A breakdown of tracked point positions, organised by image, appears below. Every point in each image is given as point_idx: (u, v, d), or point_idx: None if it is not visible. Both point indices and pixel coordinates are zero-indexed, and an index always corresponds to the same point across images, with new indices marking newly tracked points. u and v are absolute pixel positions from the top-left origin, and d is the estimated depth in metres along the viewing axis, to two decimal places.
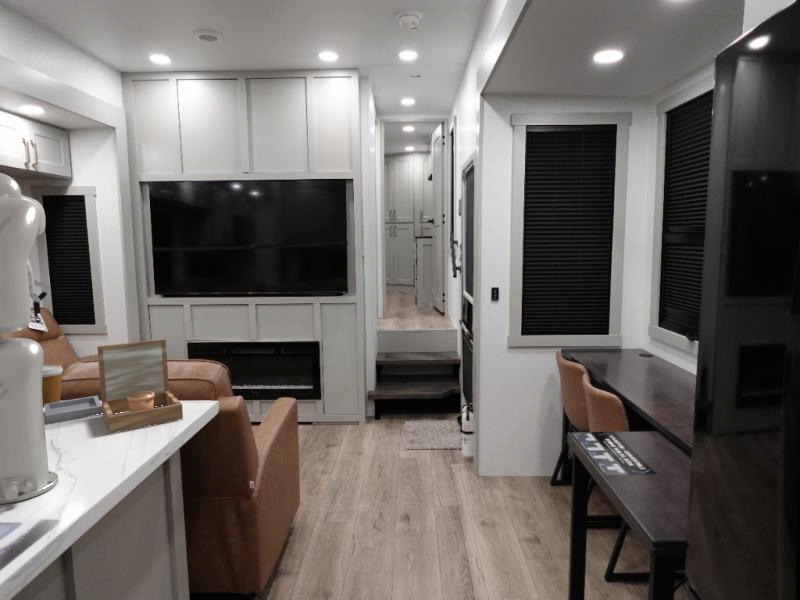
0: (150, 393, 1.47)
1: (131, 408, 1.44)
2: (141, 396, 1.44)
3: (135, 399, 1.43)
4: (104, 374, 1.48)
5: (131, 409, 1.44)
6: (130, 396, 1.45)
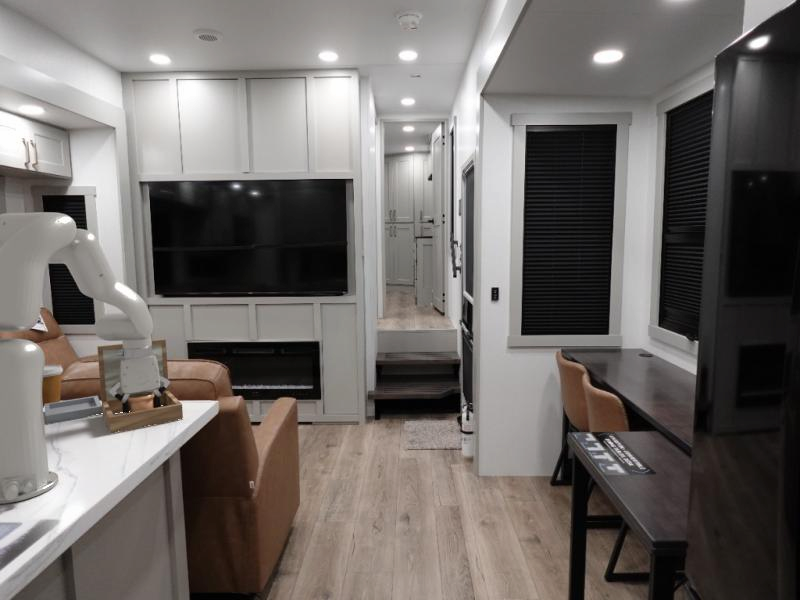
0: (150, 393, 1.47)
1: (131, 408, 1.44)
2: (141, 396, 1.44)
3: (135, 399, 1.43)
4: (104, 374, 1.48)
5: (131, 409, 1.44)
6: (130, 396, 1.45)
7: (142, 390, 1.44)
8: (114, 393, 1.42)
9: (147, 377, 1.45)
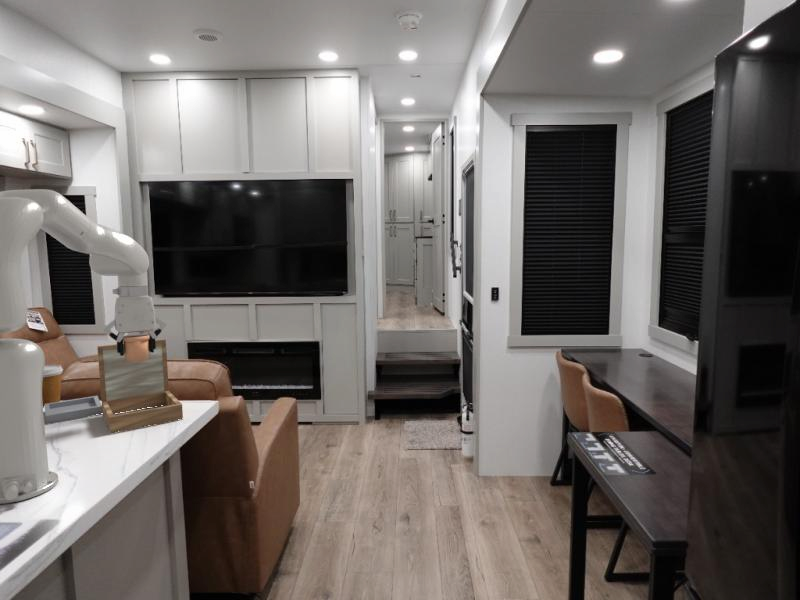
0: (145, 334, 1.45)
1: (126, 348, 1.42)
2: (136, 336, 1.42)
3: (130, 338, 1.41)
4: (104, 374, 1.48)
5: (126, 349, 1.42)
6: (125, 336, 1.42)
7: (137, 330, 1.42)
8: (108, 331, 1.40)
9: (142, 317, 1.42)
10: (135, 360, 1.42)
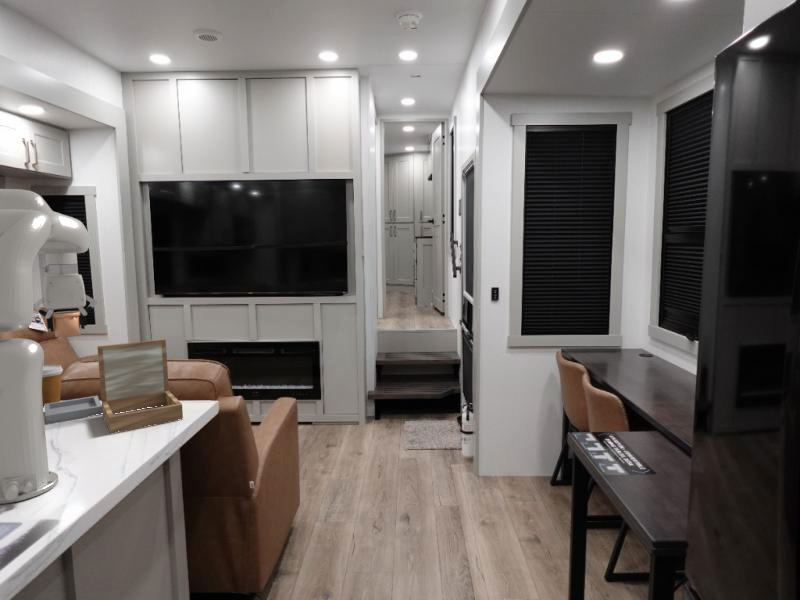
0: (76, 311, 1.50)
1: (55, 324, 1.46)
2: (66, 313, 1.47)
3: (59, 315, 1.45)
4: (104, 374, 1.48)
5: (56, 325, 1.46)
6: (55, 313, 1.47)
7: (66, 307, 1.46)
8: (37, 308, 1.44)
9: (71, 294, 1.47)
10: (65, 336, 1.46)
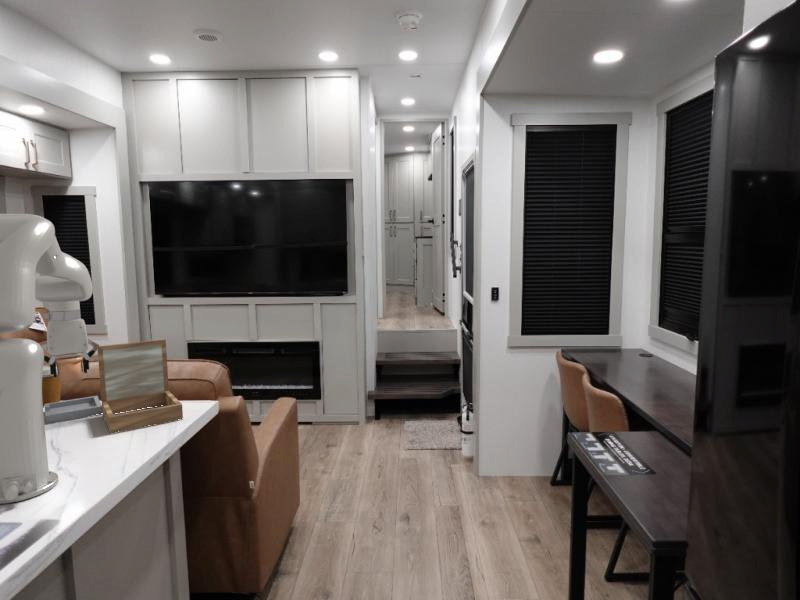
0: (79, 356, 1.51)
1: (58, 370, 1.48)
2: (68, 358, 1.48)
3: (62, 361, 1.47)
4: (104, 374, 1.48)
5: (58, 371, 1.48)
6: (58, 358, 1.49)
7: (69, 352, 1.48)
8: None
9: (74, 340, 1.49)
10: (68, 381, 1.48)
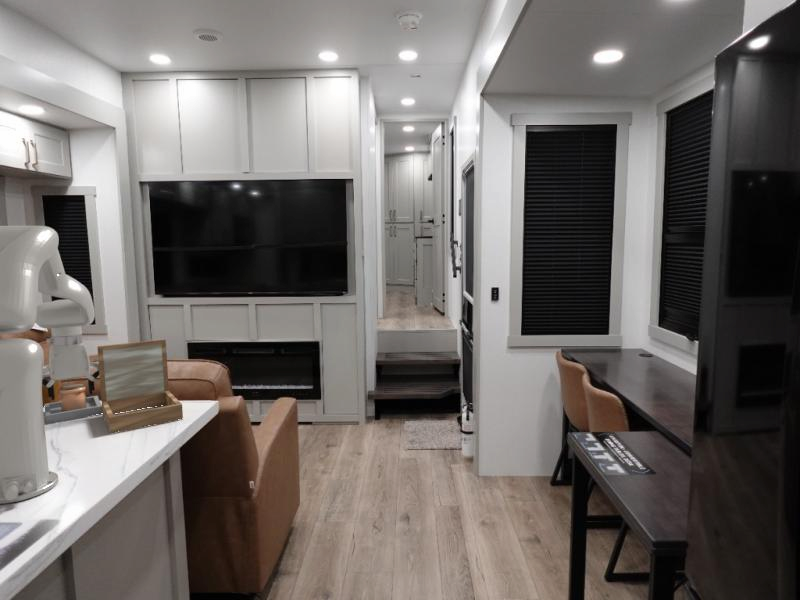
0: (82, 386, 1.52)
1: (62, 400, 1.49)
2: (72, 389, 1.49)
3: (65, 391, 1.48)
4: (104, 374, 1.48)
5: (62, 401, 1.49)
6: (61, 389, 1.50)
7: (71, 377, 1.49)
8: None
9: (76, 364, 1.49)
10: None
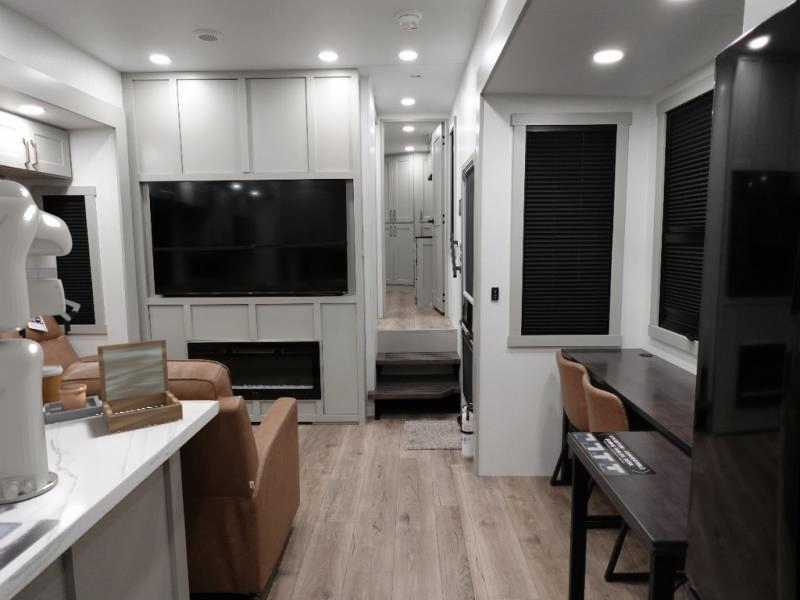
0: (82, 386, 1.52)
1: (62, 400, 1.49)
2: (72, 389, 1.49)
3: (65, 391, 1.48)
4: (104, 374, 1.48)
5: (62, 401, 1.49)
6: (61, 389, 1.49)
7: (44, 314, 1.37)
8: None
9: (50, 300, 1.37)
10: None
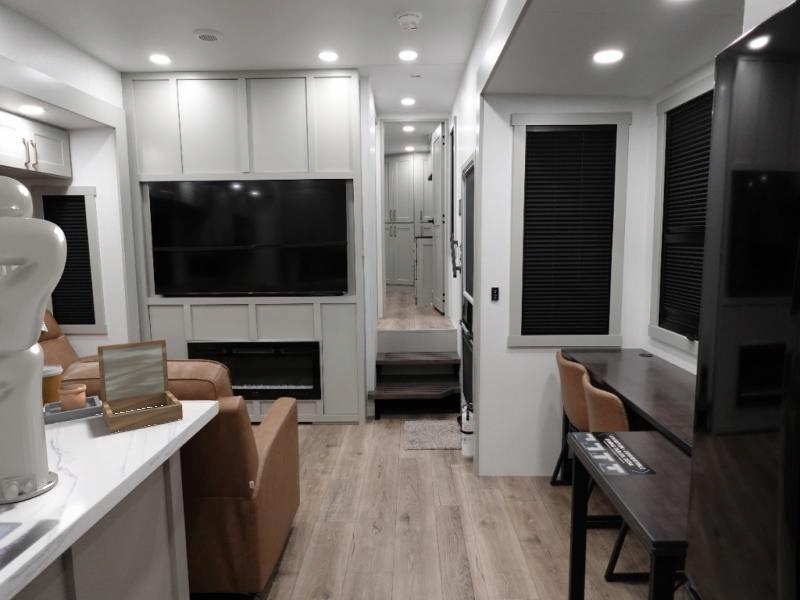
0: (81, 386, 1.52)
1: (62, 400, 1.49)
2: (71, 388, 1.49)
3: (65, 391, 1.48)
4: (104, 374, 1.48)
5: (62, 401, 1.49)
6: (61, 389, 1.49)
7: None
8: None
9: None
10: None
